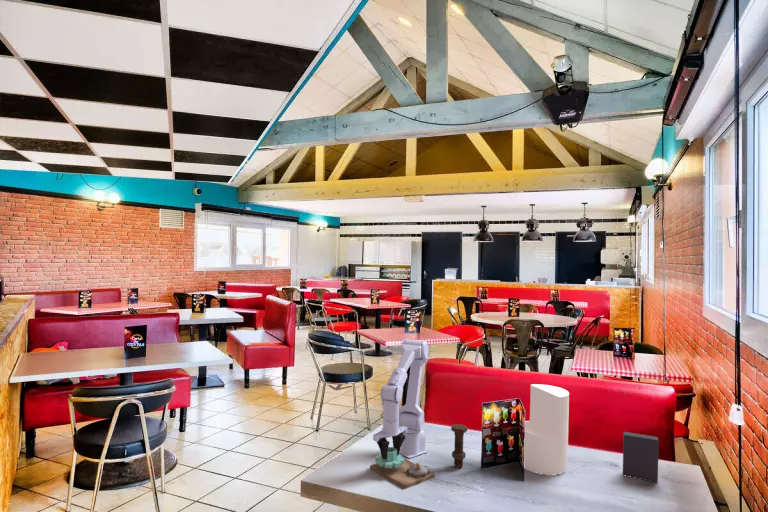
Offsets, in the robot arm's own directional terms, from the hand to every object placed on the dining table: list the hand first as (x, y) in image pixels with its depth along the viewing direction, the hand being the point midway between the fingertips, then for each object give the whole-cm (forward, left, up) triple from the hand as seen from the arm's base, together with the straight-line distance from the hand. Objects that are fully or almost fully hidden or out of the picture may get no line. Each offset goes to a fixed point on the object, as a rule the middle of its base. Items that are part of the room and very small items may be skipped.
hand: (390, 456), depth 174 cm
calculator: (-69, +57, -6) cm, 90 cm away
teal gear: (0, 0, -2) cm, 2 cm away
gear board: (-3, +3, -6) cm, 7 cm away
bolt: (-23, +12, -6) cm, 27 cm away
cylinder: (-50, +30, -6) cm, 59 cm away
